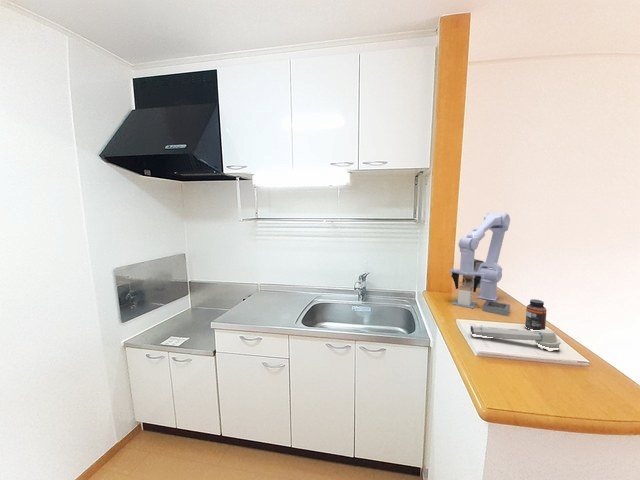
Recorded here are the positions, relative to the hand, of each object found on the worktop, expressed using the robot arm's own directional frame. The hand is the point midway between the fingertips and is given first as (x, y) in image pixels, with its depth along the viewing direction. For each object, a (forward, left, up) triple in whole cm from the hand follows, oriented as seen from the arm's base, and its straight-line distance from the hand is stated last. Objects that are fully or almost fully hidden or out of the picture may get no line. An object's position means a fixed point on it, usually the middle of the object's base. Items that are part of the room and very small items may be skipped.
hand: (465, 290), depth 129 cm
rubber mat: (0, 0, -7) cm, 7 cm away
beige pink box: (0, 0, -7) cm, 7 cm away
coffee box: (-38, -4, -7) cm, 39 cm away
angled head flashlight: (+32, +21, -8) cm, 39 cm away
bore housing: (0, +13, -7) cm, 15 cm away
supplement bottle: (+14, +27, -7) cm, 31 cm away
